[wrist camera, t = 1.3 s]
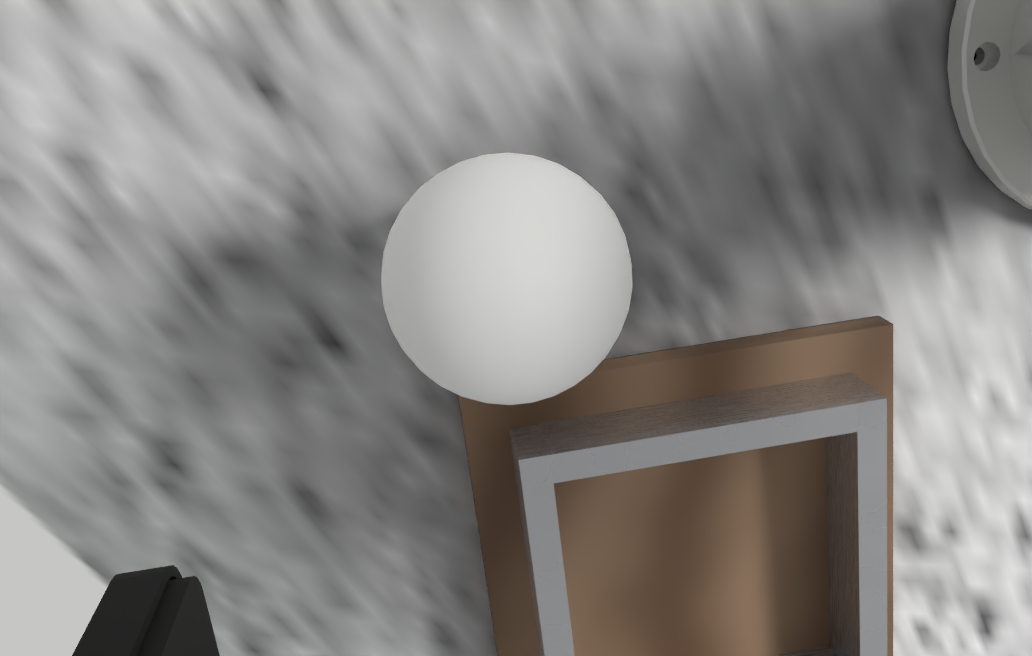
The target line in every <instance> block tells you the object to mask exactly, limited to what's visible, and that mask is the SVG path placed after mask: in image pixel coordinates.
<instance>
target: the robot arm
mask: <svg viewBox="0 0 1032 656" xmlns="http://www.w3.org/2000/svg"><path fill="white" fill-rule="evenodd" d="M975 51H976V52H977V57H976V60H975V61H974V55H975ZM947 70H948V78H949V87H950V95H951V104H952V108H953V111H954V114H955V117H956V120H957V123H958V126H959V130H960V133H961V136H962V139H963V140H964V142H965V144H966V146H967V147H968V149H969V151H970V153H971V154H972V156H973V158H974V160H975V161H976V163H977V165H978V167H979V168H980V169H981V170H982V171H983V172H984V173H985V174H986V175H987V177H988V178H989V179H990V180H991V181H992V182H993V183H994V184H995V185H996V187H997V188H998V189H999V190H1000V191H1002V192H1003V193H1005V194H1006V195H1008V196H1009V197H1011V198H1012V199H1013V200H1015V201H1016V202H1018V203H1019V204H1021V205H1022V206H1024V207H1025V208H1028V209H1030V210H1032V0H957V1H956V5H955V9H954V14H953V18H952V22H951V27H950V34H949V50H948V66H947ZM72 656H220V655H219V651H218V648H217V644H216V640H215V636H214V632H213V628H212V624H211V620H210V616H209V612H208V608H207V605H206V601H205V597H204V593H203V589H202V586H201V583H200V581H199V580H198V578H197V577H195V576H192V577H186V578H182V576H181V574H180V572H179V570H178V569H177V568H176V567H175V566H174V565H172V566H165V567H159V568H153V569H147V570H141V571H134V572H128V573H122V574H117V575H115V576H114V578H113V579H112V580H111V582H110V584H109V586H108V588H107V590H106V591H105V593H104V595H103V597H102V599H101V601H100V603H99V605H98V607H97V609H96V611H95V613H94V614H93V616H92V618H91V621H90V622H89V624H88V626H87V628H86V630H85V632H84V634H83V636H82V638H81V639H80V641H79V643H78V645H77V647H76V649H75V651H74V653H73V655H72Z"/></svg>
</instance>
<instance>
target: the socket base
mask: <svg viewBox="0 0 1032 656" xmlns="http://www.w3.org/2000/svg"><path fill="white" fill-rule="evenodd" d="M848 372H852V373H854V374H855V375H856V376H858V377H859V378H860V379H862V380H863V381H864V382H866V383H867V384H868V385H870V386H871V387H872V388H874V389H875V390H876V391H878V392H879V393H880V394H882V395H883V396H884V397H886V398H887V656H893V324H892V323H890V322H888V321H887V320H885V319H883V318H882V317H880V316H875V317H869V318H863V319H857V320H850V321H844V322H838V323H832V324H825V325H819V326H813V327H807V328H800V329H794V330H788V331H782V332H775V333H769V334H763V335H756V336H750V337H744V338H738V339H731V340H725V341H719V342H713V343H706V344H700V345H694V346H688V347H681V348H675V349H669V350H663V351H656V352H650V353H644V354H638V355H631V356H625V357H619V358H613V359H606V360H602V362H601V363H600V364H599V365H598V366H597V367H596V368H595V369H594V370H593V371H592V373H590V374H589V375H588V376H586V377H585V378H584V379H582V380H581V381H580V382H578V383H577V384H576V385H575V386H573V387H571V388H569V389H567V390H565V391H563V392H561V393H559V394H557V395H555V396H553V397H550V398H546V399H543V400H540V401H536V402H533V403H525V404H515V405H502V404H489V403H484V402H480V401H476V400H473V399H469V398H465V397H461V396H459V395H458V397H459V403H460V410H461V416H462V423H463V430H464V436H465V443H466V449H467V456H468V462H469V469H470V476H471V482H472V489H473V495H474V502H475V508H476V515H477V522H478V528H479V535H480V541H481V548H482V555H483V561H484V568H485V574H486V581H487V587H488V594H489V601H490V607H491V614H492V620H493V627H494V633H495V640H496V647H497V653H498V656H540V652H539V645H538V638H537V630H536V623H535V616H534V608H533V601H532V594H531V586H530V579H529V571H528V564H527V557H526V549H525V542H524V535H523V527H522V520H521V513H520V505H519V498H518V490H517V483H516V476H515V468H514V461H513V454H512V446H511V439H510V432H509V428H514V427H520V426H526V425H532V424H538V423H544V422H550V421H556V420H562V419H568V418H574V417H581V416H587V415H593V414H599V413H605V412H611V411H617V410H623V409H629V408H635V407H641V406H647V405H654V404H660V403H666V402H672V401H678V400H684V399H690V398H696V397H702V396H708V395H714V394H720V393H727V392H733V391H739V390H745V389H751V388H757V387H763V386H769V385H775V384H781V383H787V382H793V381H799V380H806V379H812V378H818V377H824V376H830V375H836V374H842V373H848ZM554 491H555V499H556V507H557V515H558V523H559V531H560V540H561V548H562V556H563V564H564V572H565V580H566V589H567V597H568V605H569V613H570V621H571V629H572V638H573V646H574V654H575V656H774V655H779V654H784V653H790V652H795V651H800V650H806V649H811V648H816V647H821V646H827V645H830V616H829V574H828V532H827V490H826V448H825V437H824V438H818V439H812V440H806V441H801V442H795V443H789V444H783V445H777V446H771V447H765V448H759V449H753V450H748V451H742V452H736V453H730V454H724V455H718V456H712V457H706V458H700V459H695V460H689V461H683V462H677V463H671V464H665V465H659V466H653V467H647V468H642V469H636V470H630V471H624V472H618V473H612V474H606V475H600V476H594V477H589V478H583V479H577V480H571V481H565V482H559V483H554Z"/></svg>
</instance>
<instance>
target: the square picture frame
mask: <svg viewBox="0 0 1032 656" xmlns="http://www.w3.org/2000/svg"><path fill="white" fill-rule="evenodd" d="M509 432H510V439H511V446H512V454H513V461H514V468H515V476H516V483H517V490H518V498H519V505H520V513H521V520H522V527H523V535H524V542H525V549H526V557H527V564H528V571H529V579H530V586H531V594H532V601H533V608H534V616H535V623H536V630H537V638H538V645H539V652H540V656H575V654H574V646H573V638H572V629H571V621H570V613H569V605H568V597H567V589H566V580H565V572H564V564H563V556H562V548H561V540H560V531H559V523H558V515H557V507H556V499H555V491H554V483H559V482H565V481H571V480H577V479H583V478H589V477H594V476H600V475H606V474H612V473H618V472H624V471H630V470H636V469H642V468H647V467H653V466H659V465H665V464H671V463H677V462H683V461H689V460H695V459H700V458H706V457H712V456H718V455H724V454H730V453H736V452H742V451H748V450H753V449H759V448H765V447H771V446H777V445H783V444H789V443H795V442H801V441H806V440H812V439H818V438H824V437H825V448H826V490H827V532H828V574H829V616H830V645H827V646H821V647H816V648H811V649H806V650H800V651H795V652H790V653H784V654H779V655H774V656H887V398H886V397H884V396H883V395H882V394H880V393H879V392H878V391H876V390H875V389H874V388H872V387H871V386H870V385H868V384H867V383H866V382H864V381H863V380H862V379H860V378H859V377H858V376H856V375H855V374H854V373H852V372H848V373H842V374H836V375H830V376H824V377H818V378H812V379H806V380H799V381H793V382H787V383H781V384H775V385H769V386H763V387H757V388H751V389H745V390H739V391H733V392H727V393H720V394H714V395H708V396H702V397H696V398H690V399H684V400H678V401H672V402H666V403H660V404H654V405H647V406H641V407H635V408H629V409H623V410H617V411H611V412H605V413H599V414H593V415H587V416H581V417H574V418H568V419H562V420H556V421H550V422H544V423H538V424H532V425H526V426H520V427H514V428H509Z"/></svg>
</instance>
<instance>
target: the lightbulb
mask: <svg viewBox="0 0 1032 656" xmlns="http://www.w3.org/2000/svg"><path fill="white" fill-rule="evenodd" d="M381 288H382V297H383V306H384V309H385V313H386V316H387V319H388V322H389V325H390V328H391V330H392V332H393V334H394V335H395V337H396V339H397V341H398V342H399V344H400V346H401V348H402V349H403V351H404V352H405V353H406V354H407V356H408V357H409V358H410V359H411V360H412V361H413V362H414V364H415V365H416V366H417V367H418V368H419V369H420V370H421V371H422V373H424V374H425V375H426V376H428V377H429V378H430V379H432V380H433V381H434V382H436V383H437V384H438V385H440V386H441V387H443V388H445V389H447V390H449V391H451V392H453V393H455V394H457V395H459V396H461V397H465V398H469V399H473V400H476V401H480V402H484V403H489V404H502V405H515V404H525V403H533V402H536V401H540V400H543V399H546V398H550V397H553V396H555V395H557V394H559V393H561V392H563V391H565V390H567V389H569V388H571V387H573V386H575V385H576V384H577V383H578V382H580V381H581V380H582V379H584V378H585V377H586V376H588V375H589V374H590V373H592V371H593V370H594V369H595V368H596V367H597V366H598V365H599V364H600V363H601V362H602V360H603V359H604V358H605V357H606V356H607V354H608V353H609V351H610V350H611V348H612V346H613V345H614V343H615V341H616V340H617V338H618V337H619V335H620V333H621V330H622V327H623V325H624V322H625V320H626V317H627V314H628V312H629V306H630V300H631V294H632V288H633V287H632V263H631V258H630V253H629V249H628V245H627V241H626V236H625V234H624V232H623V230H622V227H621V225H620V223H619V221H618V219H617V217H616V214H615V213H614V212H613V210H612V209H611V208H610V206H609V205H608V204H607V202H606V201H605V200H604V198H603V197H602V195H601V194H600V193H598V192H597V191H596V190H595V189H594V188H593V187H592V186H591V185H589V184H588V183H587V182H586V181H585V180H584V179H583V178H581V177H580V176H579V175H577V174H575V173H574V172H572V171H570V170H569V169H567V168H565V167H563V166H562V165H560V164H558V163H556V162H553V161H550V160H546V159H543V158H540V157H537V156H534V155H526V154H518V153H498V154H485V155H481V156H478V157H474V158H471V159H467V160H464V161H460V162H458V163H456V164H455V165H453V166H451V167H449V168H447V169H445V170H443V171H441V172H439V173H437V174H436V175H435V176H434V177H432V178H431V179H430V180H429V181H427V182H426V183H425V184H424V185H422V186H421V187H420V188H419V189H418V190H417V191H416V192H415V193H414V195H413V196H412V197H411V198H410V199H409V200H408V202H407V203H406V204H405V205H404V206H403V208H402V209H401V211H400V213H399V215H398V217H397V219H396V220H395V222H394V224H393V226H392V228H391V230H390V233H389V236H388V239H387V243H386V246H385V249H384V252H383V262H382V273H381Z"/></svg>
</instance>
